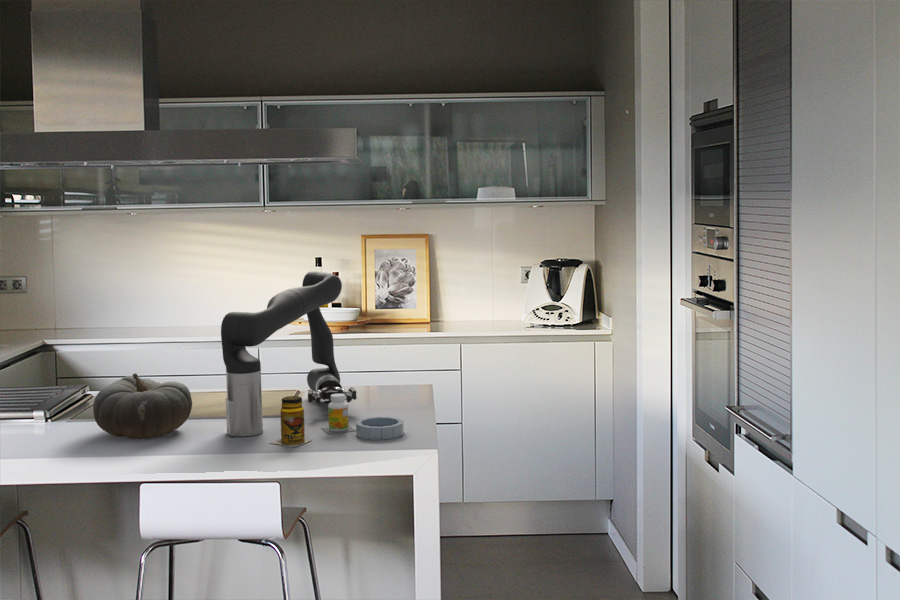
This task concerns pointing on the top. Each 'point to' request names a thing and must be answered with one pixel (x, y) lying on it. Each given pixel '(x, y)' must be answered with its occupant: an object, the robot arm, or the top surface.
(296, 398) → the condiment
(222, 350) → the robot arm
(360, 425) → the bowl
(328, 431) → the mat
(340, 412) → the supplement bottle
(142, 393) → the gourd
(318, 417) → the top surface
